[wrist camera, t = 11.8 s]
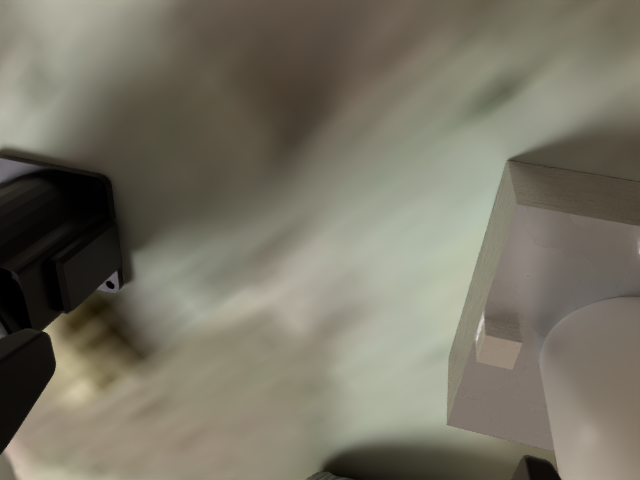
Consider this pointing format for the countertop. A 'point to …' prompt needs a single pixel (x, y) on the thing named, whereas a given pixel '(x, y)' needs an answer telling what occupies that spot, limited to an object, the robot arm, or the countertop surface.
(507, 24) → the countertop surface
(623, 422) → the white bottle
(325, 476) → the spool
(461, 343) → the studded square plate
